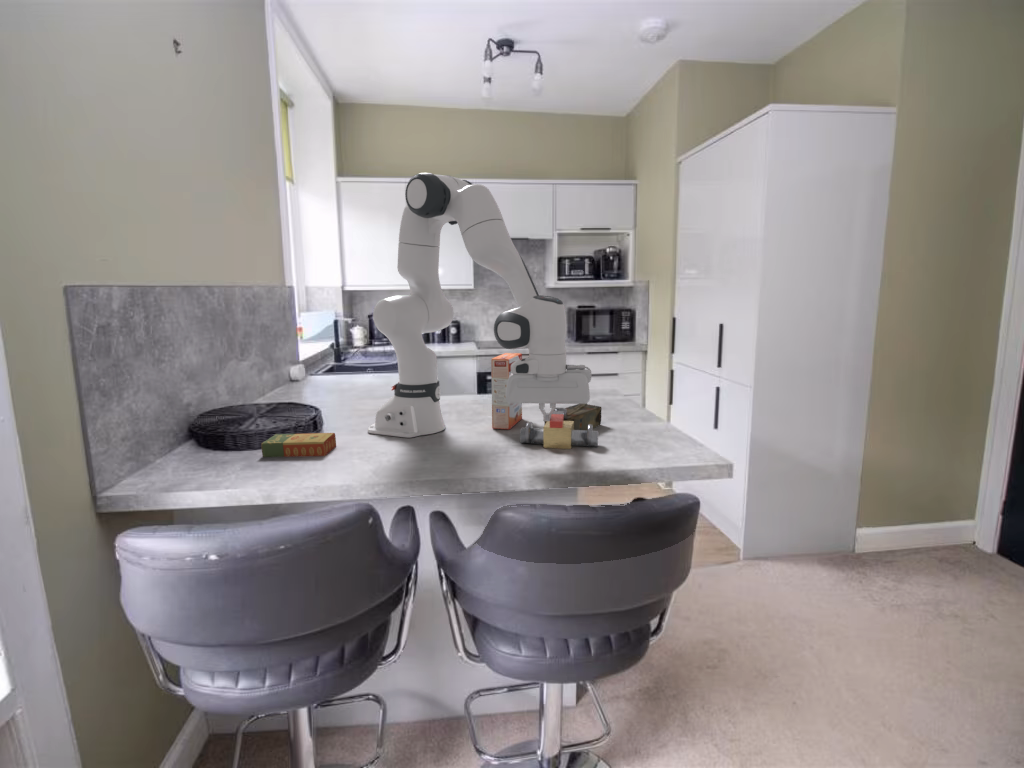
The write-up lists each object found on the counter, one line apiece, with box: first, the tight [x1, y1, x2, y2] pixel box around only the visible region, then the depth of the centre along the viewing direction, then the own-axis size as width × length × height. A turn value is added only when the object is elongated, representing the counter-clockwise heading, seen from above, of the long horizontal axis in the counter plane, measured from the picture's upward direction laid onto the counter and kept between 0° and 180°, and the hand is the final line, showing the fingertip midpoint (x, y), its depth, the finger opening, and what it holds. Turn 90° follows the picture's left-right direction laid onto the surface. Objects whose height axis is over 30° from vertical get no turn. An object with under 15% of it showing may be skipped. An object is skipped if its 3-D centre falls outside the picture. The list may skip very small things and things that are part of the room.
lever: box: [550, 407, 567, 428], centre depth 128 cm, size 14×4×2 cm, turn 172°
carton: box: [260, 432, 337, 458], centre depth 133 cm, size 8×16×4 cm, turn 89°
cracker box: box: [490, 352, 523, 431], centre depth 154 cm, size 14×6×21 cm, turn 164°
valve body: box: [519, 421, 599, 450], centre depth 134 cm, size 20×7×8 cm, turn 77°
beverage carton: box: [543, 403, 602, 430], centre depth 147 cm, size 8×19×7 cm, turn 140°
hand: (547, 420), depth 126 cm, fingers closed
